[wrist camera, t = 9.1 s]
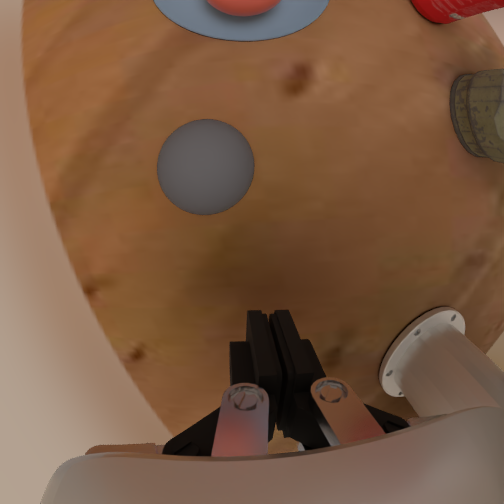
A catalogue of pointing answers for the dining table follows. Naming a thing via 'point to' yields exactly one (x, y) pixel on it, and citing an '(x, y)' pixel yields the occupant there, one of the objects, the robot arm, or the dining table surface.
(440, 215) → the dining table surface
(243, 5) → the red ball
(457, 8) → the beverage can
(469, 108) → the thermos
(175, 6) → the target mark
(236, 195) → the gray ball
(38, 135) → the dining table surface
